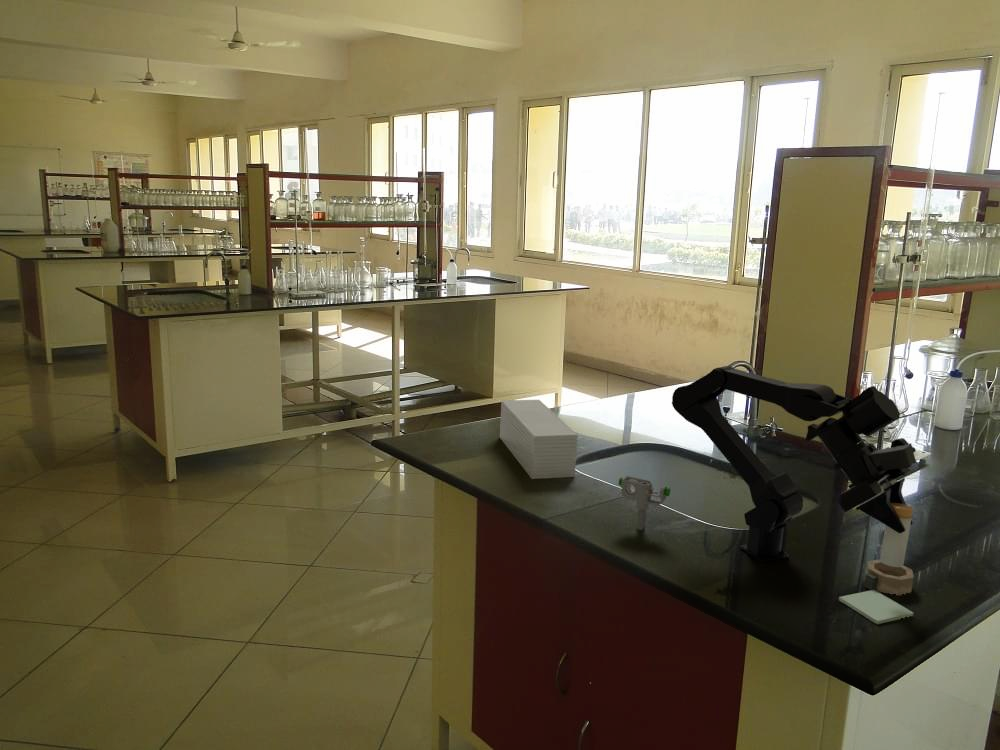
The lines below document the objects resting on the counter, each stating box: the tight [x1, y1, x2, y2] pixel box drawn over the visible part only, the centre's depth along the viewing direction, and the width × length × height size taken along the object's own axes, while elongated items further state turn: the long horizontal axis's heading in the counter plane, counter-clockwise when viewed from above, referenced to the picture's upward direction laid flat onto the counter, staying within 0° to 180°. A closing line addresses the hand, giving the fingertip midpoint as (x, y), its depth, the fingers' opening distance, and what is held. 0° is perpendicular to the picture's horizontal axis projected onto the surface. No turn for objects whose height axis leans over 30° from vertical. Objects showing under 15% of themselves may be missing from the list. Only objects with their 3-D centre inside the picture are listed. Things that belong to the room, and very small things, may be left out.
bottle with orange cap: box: [879, 503, 915, 567], centre depth 131 cm, size 4×4×10 cm
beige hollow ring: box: [863, 558, 915, 596], centre depth 138 cm, size 8×7×3 cm
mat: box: [838, 590, 914, 625], centre depth 130 cm, size 8×8×1 cm
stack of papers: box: [499, 399, 579, 480], centre depth 198 cm, size 32×11×11 cm, turn 14°
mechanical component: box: [618, 475, 671, 531], centre depth 156 cm, size 3×10×10 cm, turn 61°
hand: (906, 528), depth 130 cm, fingers closed on bottle with orange cap, 4 cm apart
